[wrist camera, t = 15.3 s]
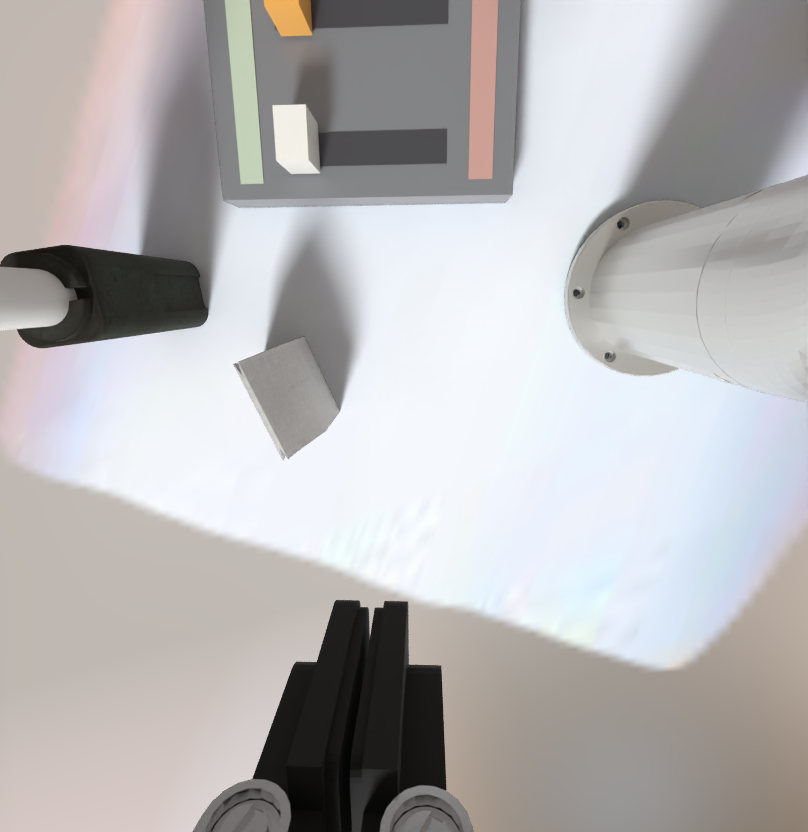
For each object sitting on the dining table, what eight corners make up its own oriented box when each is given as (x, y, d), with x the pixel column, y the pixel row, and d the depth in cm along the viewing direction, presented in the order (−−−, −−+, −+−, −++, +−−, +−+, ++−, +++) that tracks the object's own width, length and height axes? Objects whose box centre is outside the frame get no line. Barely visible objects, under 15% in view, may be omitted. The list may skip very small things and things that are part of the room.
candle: (134, 268, 38) (-397, 220, 13) (196, 259, 37) (-235, 193, 13) (151, 333, 39) (-308, 397, 15) (211, 325, 38) (-157, 377, 14)
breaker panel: (514, -25, 32) (536, -105, 25) (505, 202, 35) (522, 182, 29) (219, -13, 33) (169, -87, 26) (239, 207, 36) (198, 189, 30)
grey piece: (304, 336, 38) (263, 350, 29) (339, 411, 40) (312, 449, 30) (264, 354, 39) (210, 374, 29) (300, 427, 40) (261, 470, 31)
